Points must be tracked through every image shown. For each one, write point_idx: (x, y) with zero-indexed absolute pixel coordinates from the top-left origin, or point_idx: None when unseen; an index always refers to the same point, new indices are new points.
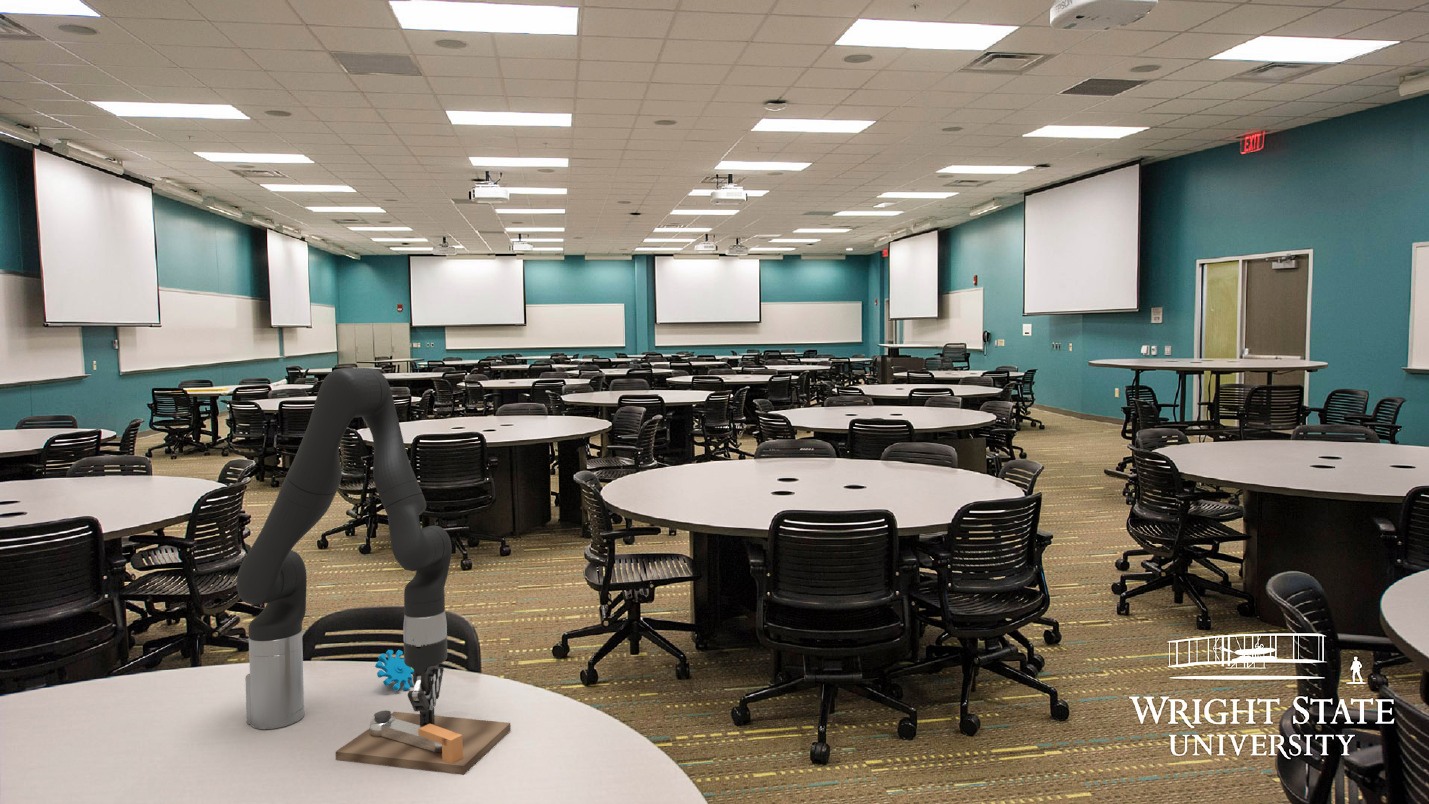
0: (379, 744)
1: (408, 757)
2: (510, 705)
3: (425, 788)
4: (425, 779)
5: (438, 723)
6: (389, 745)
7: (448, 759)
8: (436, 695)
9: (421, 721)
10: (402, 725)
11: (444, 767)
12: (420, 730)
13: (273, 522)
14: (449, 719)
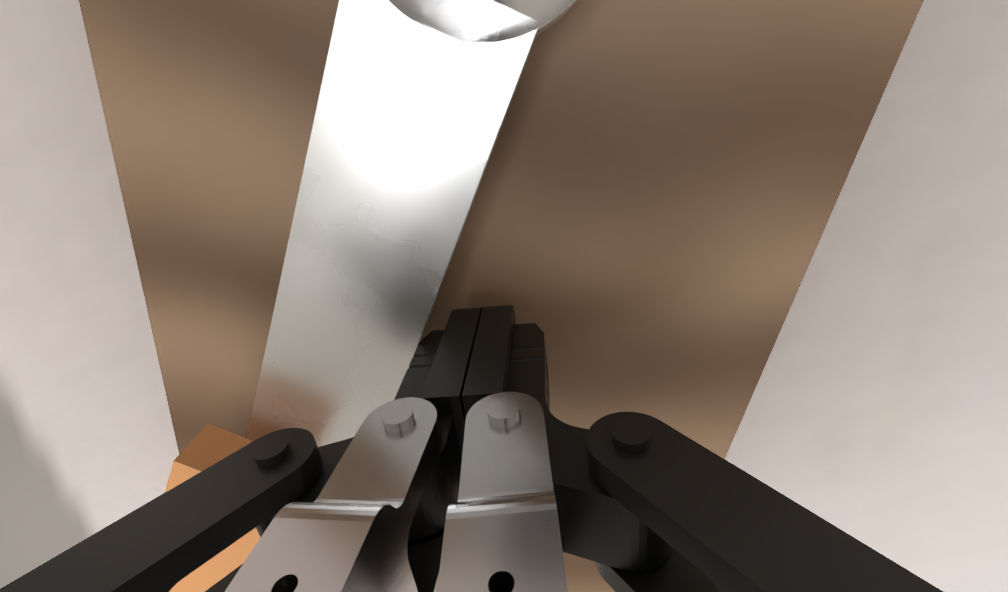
0: (267, 31)
1: (175, 336)
2: (966, 545)
3: (76, 455)
4: (136, 430)
5: (661, 325)
6: (276, 130)
7: None
8: (601, 569)
9: (409, 368)
10: (395, 190)
11: None
12: (174, 471)
13: None
14: (722, 371)
